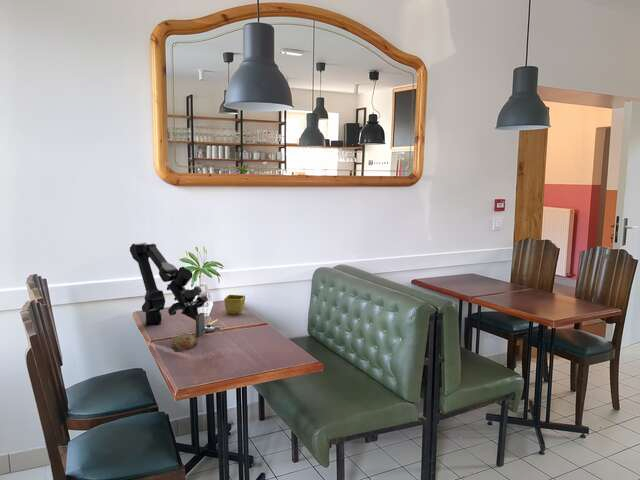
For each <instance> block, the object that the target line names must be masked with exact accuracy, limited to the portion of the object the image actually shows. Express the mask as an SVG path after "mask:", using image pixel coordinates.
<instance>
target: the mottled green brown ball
mask: <svg viewBox="0 0 640 480" xmlns="http://www.w3.org/2000/svg"><path fill="white" fill-rule="evenodd" d="M171 341H172V342H171V348H172V351H173V352H175V353H185V352H184V351H188V350H191V349H194V348H195V347H196V346H197V345H198V341H197V339H196V337H195V336H193V335H192V334H190V333H182V334H178V335H176V336H175V337H173V339H172V340H171Z"/></svg>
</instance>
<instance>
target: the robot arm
mask: <svg viewBox="0 0 640 480" xmlns="http://www.w3.org/2000/svg"><path fill="white" fill-rule="evenodd" d="M129 253H130V254H131V257H132V259H133V260H134V261H135V262H136V263H137V264H138V267H139V271H140V274H141V275H140V276H141V278H142V282H143V285H144V288H145V295H144V303H143V304H142V305H141V311H142V312H144V313H145V324H144V325H145V326H158V325H161V323H162V321H163V313H162V312H161V311H163V310H164V309H165V305H166V297H165V296H164V292H163V290H162V289H161V290H160V289H158V286H157V283H156V280H155V277H154V273H153V270H152V267H151V263H150V260H149V258H150V259H151V261H152V262H153V264H154V265H155V266H156V268H157V269H158V276H159V277H160V279H161V280H162V281H163V282H164V283H167V282H170V283H168V284H167V286H166V291H171V293H172V295H173V296H174V298H173V299H174V301H177V302H174V303H172V305H171V306H170V307H169V308H168V311H167V312H168V314H169V316H170V317H171V316H174V315H176V314H177V311H179V310H181V312H180V314H181V315H184V316H186V317H188V318H190V319H193V321H195V322H196V316H197V315H198V314H199V310H198V309H199V308H202V307H203V306H204V304H205V303H206V302H208V297H207V295H204V294H203V295H201V293H202V288H201V287H200V285H198V286H195V287H193V289H189V288H186V286H187V285H188V283H189V282H190V281H191V279H192V278H193V272H192V271H191V270H190V269H188V268H186V267H185V266H180V267H179V269H178V268H177V267H176V266H175V265H174V264H171V263H169V262H168V260H166V258H165V257H164V256H163V254H162V253H161V252H160V250H159V249H158V247H157V245H156V243H154V242H153V243H152V242H151V243H146V242H138V243H137V242H135V243H132V244H131V245H130V247H129ZM197 296H198V297H197Z"/></svg>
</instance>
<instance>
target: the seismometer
mask: <svg viewBox="0 0 640 480" xmlns="http://www.w3.org/2000/svg"><path fill="white" fill-rule="evenodd" d="M218 320H219V319H217V318H216V319H215V320H213V321H211V322H209V323H210V324H207V323H206V324H205V312H200V313H198V315H197V316H196V321H195V338H196V337H198V338H200V337H202V336H203V335H204V334H206V333H211V332H214V331H216V330H221V328H220V327H221V326H220V325H217V326H216V325H213V324H215V323H216V322H218Z"/></svg>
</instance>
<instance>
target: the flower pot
mask: <svg viewBox="0 0 640 480" xmlns="http://www.w3.org/2000/svg"><path fill="white" fill-rule="evenodd" d="M223 300H224V309H225V312H226V313H227V314H233V315H240V314H242V312H243V310H244V307H245V300H246V295H242V294H241V295H239V294H228V295H226V296H225V297H224V299H223Z"/></svg>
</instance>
